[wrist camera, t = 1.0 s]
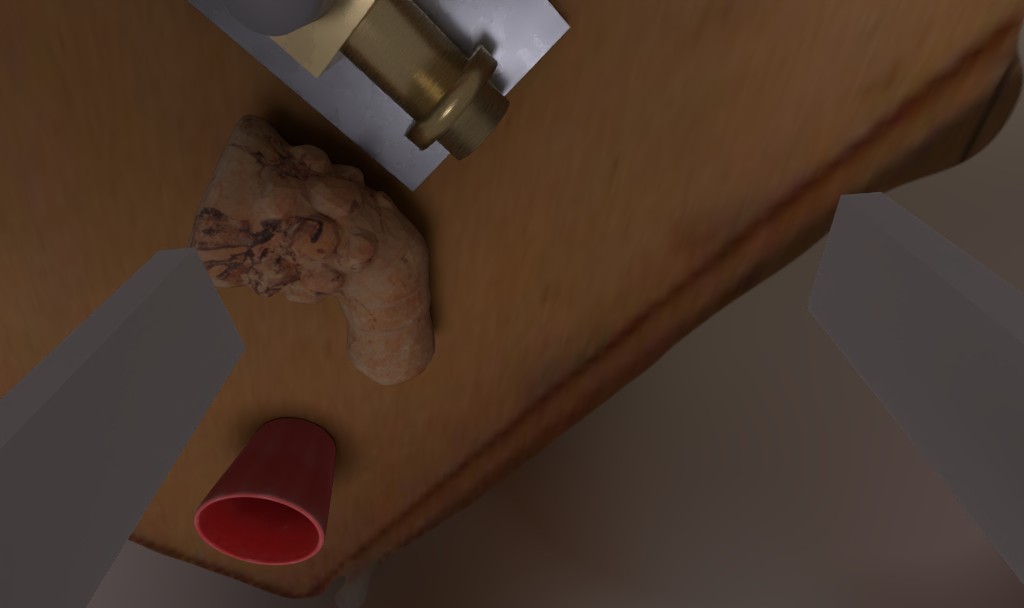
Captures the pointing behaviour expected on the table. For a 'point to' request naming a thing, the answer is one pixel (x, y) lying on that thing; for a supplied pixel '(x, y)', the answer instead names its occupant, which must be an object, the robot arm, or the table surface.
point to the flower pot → (273, 496)
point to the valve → (407, 70)
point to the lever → (277, 14)
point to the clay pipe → (319, 246)
